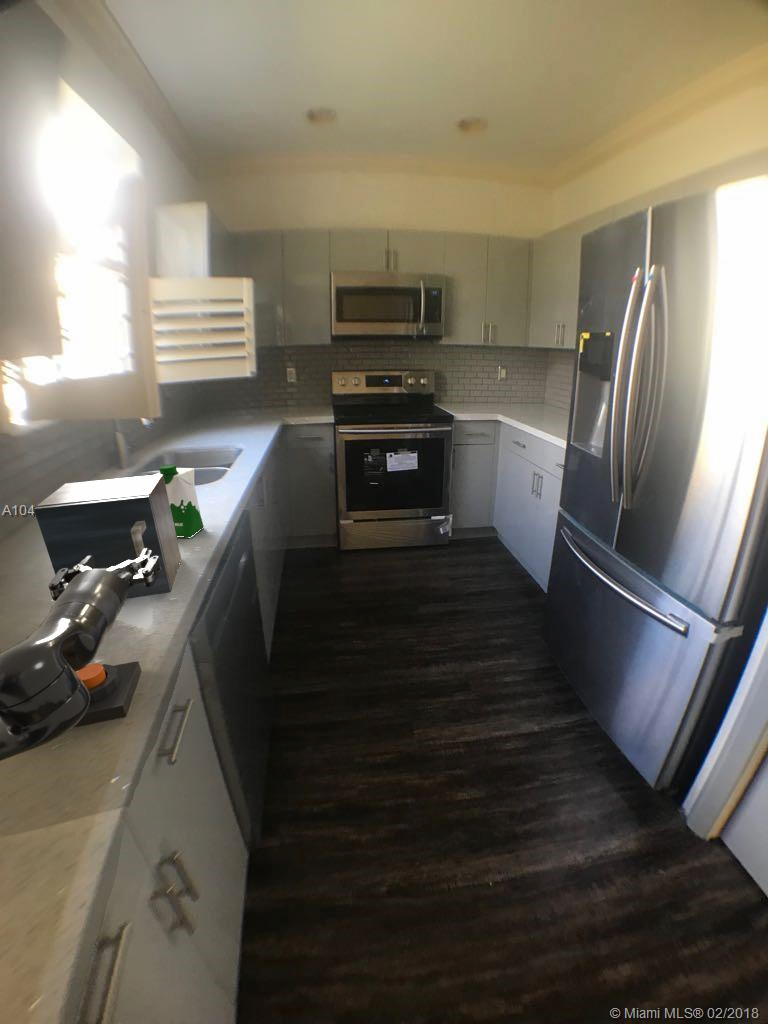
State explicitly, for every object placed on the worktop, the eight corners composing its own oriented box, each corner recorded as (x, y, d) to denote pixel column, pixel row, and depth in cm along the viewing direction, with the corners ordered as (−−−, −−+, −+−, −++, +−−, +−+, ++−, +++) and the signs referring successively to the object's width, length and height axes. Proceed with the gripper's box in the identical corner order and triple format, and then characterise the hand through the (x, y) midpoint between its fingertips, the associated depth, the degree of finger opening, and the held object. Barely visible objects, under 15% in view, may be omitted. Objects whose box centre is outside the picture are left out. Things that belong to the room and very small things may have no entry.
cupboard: (171, 589, 100) (149, 494, 92) (68, 605, 95) (35, 506, 87) (181, 559, 113) (163, 474, 105) (91, 571, 108) (65, 483, 101)
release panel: (47, 733, 64) (39, 711, 62) (73, 684, 73) (66, 664, 71) (126, 717, 66) (119, 695, 64) (141, 671, 75) (136, 651, 74)
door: (166, 604, 94) (142, 505, 86) (56, 622, 89) (20, 519, 81) (171, 589, 99) (149, 495, 91) (67, 605, 95) (35, 507, 87)
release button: (74, 691, 66) (71, 682, 65) (82, 675, 69) (79, 666, 69) (101, 686, 67) (98, 677, 66) (109, 670, 70) (106, 661, 69)
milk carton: (162, 539, 125) (146, 468, 118) (181, 526, 133) (167, 459, 126) (191, 540, 124) (177, 469, 116) (209, 527, 132) (196, 459, 125)
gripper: (37, 640, 62) (79, 582, 77) (151, 621, 65) (170, 570, 80) (20, 592, 59) (66, 542, 74) (139, 575, 63) (161, 530, 77)
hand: (120, 556), depth 77 cm, fingers open, 8 cm apart
